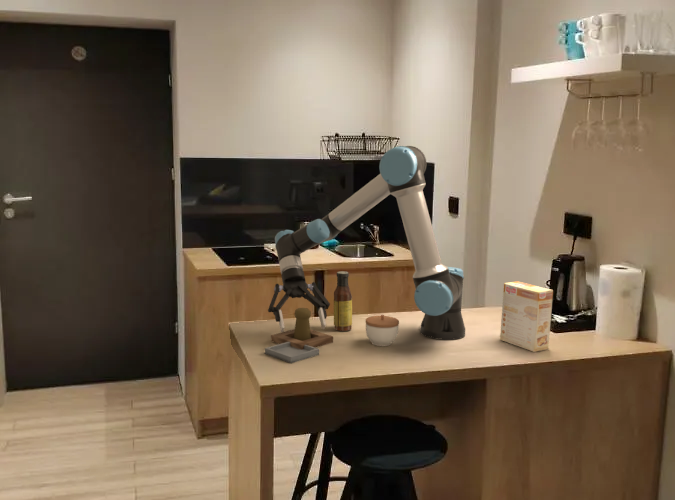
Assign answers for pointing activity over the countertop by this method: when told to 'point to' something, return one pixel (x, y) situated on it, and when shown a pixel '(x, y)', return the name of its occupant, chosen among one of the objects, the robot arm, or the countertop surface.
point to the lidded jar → (381, 329)
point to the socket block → (315, 340)
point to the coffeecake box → (526, 316)
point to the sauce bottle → (342, 303)
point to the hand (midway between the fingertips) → (303, 328)
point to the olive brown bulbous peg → (302, 324)
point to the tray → (291, 352)
